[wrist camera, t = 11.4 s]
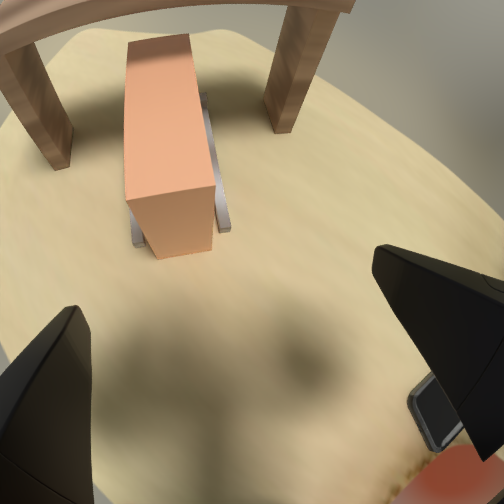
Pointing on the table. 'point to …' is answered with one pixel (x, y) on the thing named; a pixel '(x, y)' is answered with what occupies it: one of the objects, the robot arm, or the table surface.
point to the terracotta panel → (167, 148)
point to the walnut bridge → (276, 94)
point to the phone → (434, 414)
